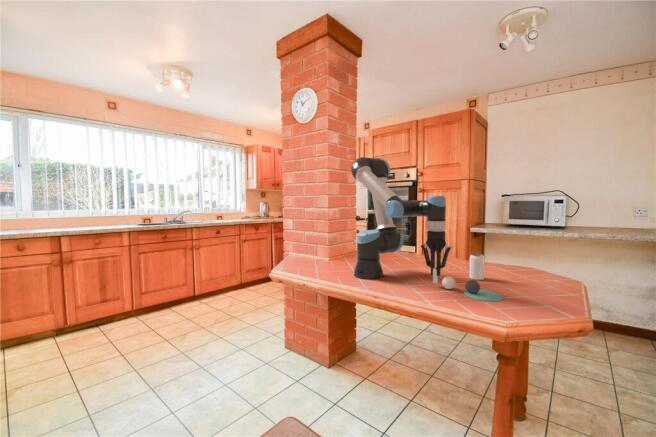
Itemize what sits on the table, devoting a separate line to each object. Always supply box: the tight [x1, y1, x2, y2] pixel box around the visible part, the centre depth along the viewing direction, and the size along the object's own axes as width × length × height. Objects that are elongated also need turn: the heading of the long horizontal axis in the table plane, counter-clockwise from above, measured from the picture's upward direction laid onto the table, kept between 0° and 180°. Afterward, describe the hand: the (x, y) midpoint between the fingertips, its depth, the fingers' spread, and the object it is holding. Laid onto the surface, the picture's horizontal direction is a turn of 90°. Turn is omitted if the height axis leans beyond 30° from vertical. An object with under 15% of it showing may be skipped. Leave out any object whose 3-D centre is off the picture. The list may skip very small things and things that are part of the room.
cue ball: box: [441, 275, 456, 290], centre depth 119 cm, size 6×6×6 cm
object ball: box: [464, 279, 481, 294], centre depth 113 cm, size 6×6×6 cm
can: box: [469, 253, 486, 281], centre depth 134 cm, size 6×6×12 cm
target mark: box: [463, 289, 504, 303], centre depth 111 cm, size 14×14×1 cm
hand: (435, 282), depth 122 cm, fingers closed
